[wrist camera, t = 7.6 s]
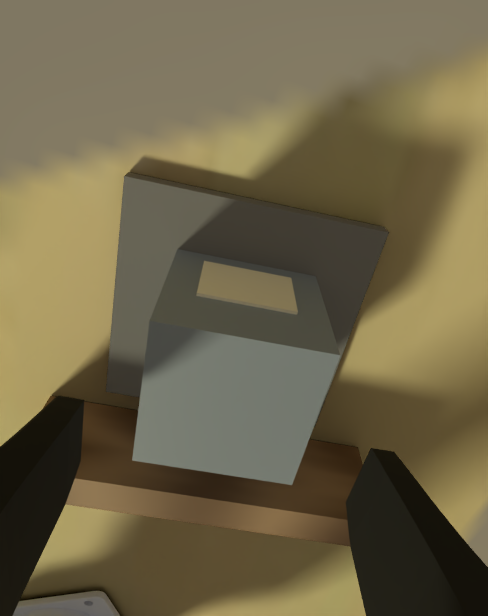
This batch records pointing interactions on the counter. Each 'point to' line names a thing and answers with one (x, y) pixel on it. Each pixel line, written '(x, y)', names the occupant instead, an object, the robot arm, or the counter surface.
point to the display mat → (227, 257)
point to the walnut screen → (212, 485)
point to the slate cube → (234, 369)
